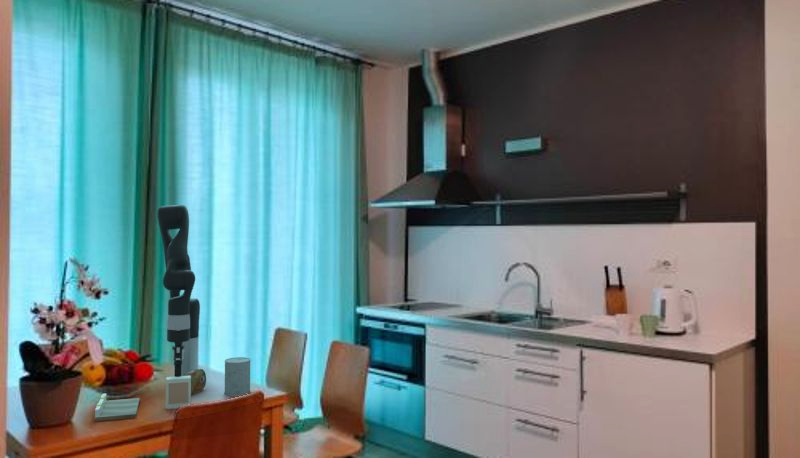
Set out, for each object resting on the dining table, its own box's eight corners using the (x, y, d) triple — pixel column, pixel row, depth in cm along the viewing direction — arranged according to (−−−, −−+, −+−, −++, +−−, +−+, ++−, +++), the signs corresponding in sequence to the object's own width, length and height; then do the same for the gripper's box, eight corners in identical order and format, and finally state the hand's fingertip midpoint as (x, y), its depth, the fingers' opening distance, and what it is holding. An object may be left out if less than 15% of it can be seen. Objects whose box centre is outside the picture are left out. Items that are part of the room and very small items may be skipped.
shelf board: (102, 404, 208) (102, 400, 208) (139, 401, 212) (139, 397, 212) (94, 421, 189) (94, 417, 189) (135, 417, 194) (135, 413, 194)
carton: (166, 405, 207) (166, 377, 207) (190, 403, 210) (190, 375, 210) (165, 409, 203) (166, 380, 203) (190, 407, 206) (190, 378, 206)
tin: (185, 399, 216) (185, 376, 216) (177, 398, 216) (177, 375, 216) (206, 388, 230) (207, 367, 230) (199, 388, 231) (199, 366, 231)
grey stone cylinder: (255, 392, 225) (255, 360, 225) (232, 397, 218) (232, 363, 218) (242, 387, 232) (242, 356, 232) (219, 392, 225) (219, 359, 225)
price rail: (102, 400, 208) (102, 393, 208) (106, 400, 209) (106, 392, 209) (94, 417, 189) (94, 409, 189) (99, 417, 190) (99, 408, 190)
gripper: (167, 325, 212) (166, 370, 212) (166, 330, 199) (165, 379, 198) (189, 324, 215) (189, 369, 214) (190, 329, 201) (189, 377, 201)
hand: (177, 373), depth 206 cm, fingers open, 8 cm apart
